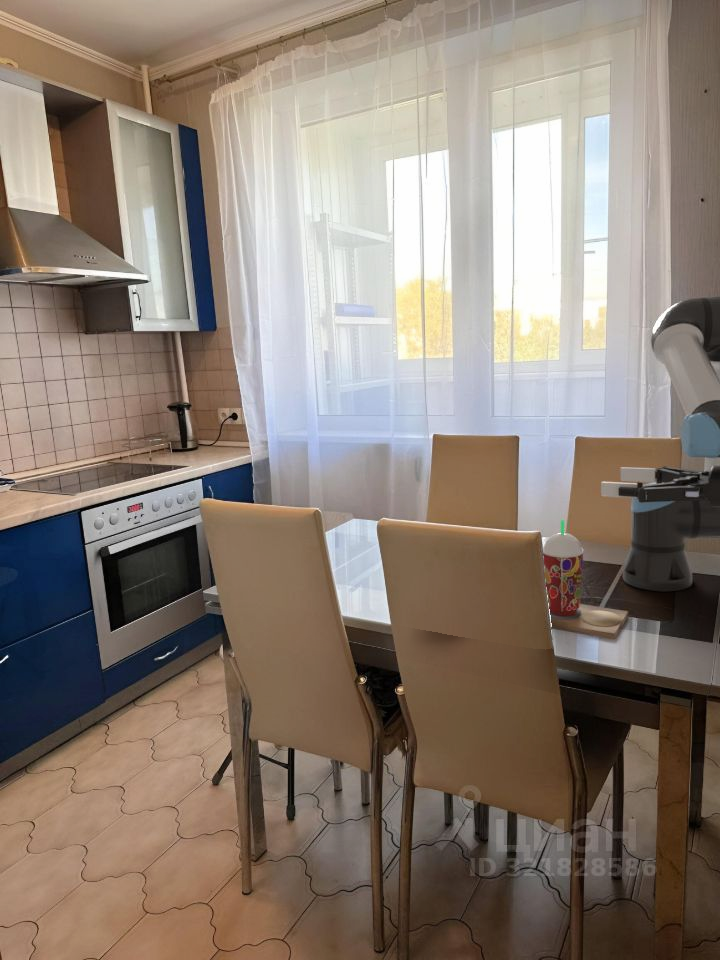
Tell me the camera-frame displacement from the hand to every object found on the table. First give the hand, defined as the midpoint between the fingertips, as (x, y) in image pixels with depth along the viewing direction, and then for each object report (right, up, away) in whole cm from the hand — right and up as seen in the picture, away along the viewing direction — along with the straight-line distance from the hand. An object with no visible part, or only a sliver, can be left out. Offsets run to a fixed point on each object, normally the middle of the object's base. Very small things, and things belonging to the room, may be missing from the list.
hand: (611, 481), depth 131 cm
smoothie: (-7, -28, +10) cm, 30 cm away
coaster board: (-3, -29, +8) cm, 31 cm away
